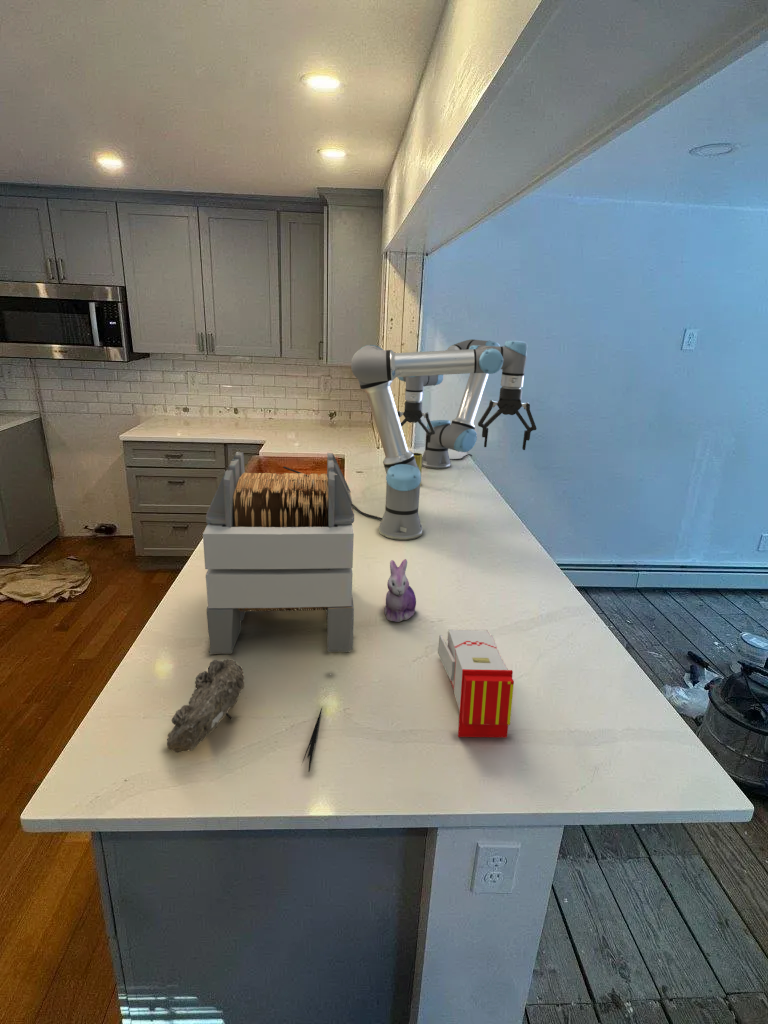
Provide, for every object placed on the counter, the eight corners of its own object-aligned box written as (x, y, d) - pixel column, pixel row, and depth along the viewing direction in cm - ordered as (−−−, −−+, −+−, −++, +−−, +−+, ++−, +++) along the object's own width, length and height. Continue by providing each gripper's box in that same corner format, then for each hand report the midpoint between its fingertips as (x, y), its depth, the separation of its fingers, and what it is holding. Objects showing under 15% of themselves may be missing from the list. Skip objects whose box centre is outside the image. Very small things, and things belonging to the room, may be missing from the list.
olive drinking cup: (406, 486, 254) (408, 455, 249) (408, 482, 260) (410, 452, 255) (420, 487, 253) (422, 456, 248) (421, 483, 259) (423, 453, 254)
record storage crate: (229, 585, 158) (221, 442, 144) (346, 584, 161) (350, 444, 148) (206, 656, 126) (193, 481, 112) (353, 652, 130) (358, 483, 116)
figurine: (392, 627, 141) (395, 572, 136) (374, 608, 149) (376, 556, 144) (425, 619, 145) (429, 566, 140) (405, 601, 154) (408, 550, 149)
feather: (331, 679, 122) (336, 673, 122) (307, 777, 96) (313, 769, 95) (324, 675, 122) (329, 669, 121) (298, 772, 95) (304, 764, 95)
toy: (488, 613, 130) (523, 677, 101) (484, 667, 133) (517, 744, 104) (435, 612, 130) (455, 676, 101) (432, 666, 133) (451, 743, 103)
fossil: (192, 660, 117) (244, 628, 112) (224, 691, 120) (276, 661, 115) (142, 746, 98) (202, 712, 93) (182, 779, 101) (242, 748, 96)
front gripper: (475, 386, 193) (469, 447, 201) (549, 391, 191) (541, 452, 198) (474, 384, 200) (469, 443, 208) (546, 388, 198) (538, 447, 205)
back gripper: (384, 401, 244) (382, 449, 252) (442, 403, 242) (439, 452, 250) (385, 398, 251) (384, 445, 259) (442, 401, 249) (439, 448, 257)
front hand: (504, 447), depth 203 cm, fingers open, 13 cm apart
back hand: (411, 448), depth 254 cm, fingers open, 13 cm apart
